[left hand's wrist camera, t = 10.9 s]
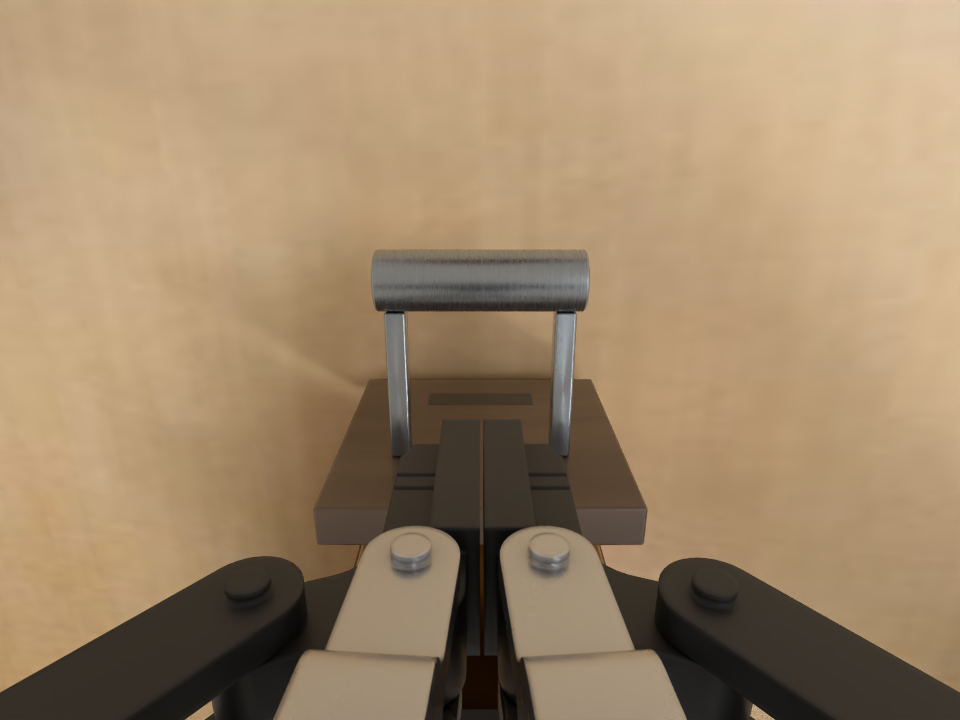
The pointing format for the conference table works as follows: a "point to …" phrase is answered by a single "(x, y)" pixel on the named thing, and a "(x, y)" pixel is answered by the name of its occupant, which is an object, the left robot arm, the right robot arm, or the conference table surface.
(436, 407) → the drawer
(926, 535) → the conference table surface
